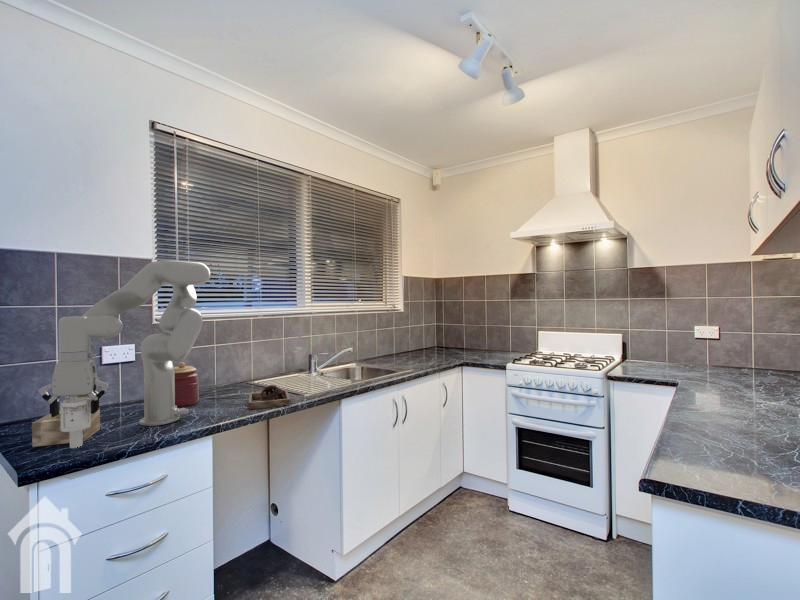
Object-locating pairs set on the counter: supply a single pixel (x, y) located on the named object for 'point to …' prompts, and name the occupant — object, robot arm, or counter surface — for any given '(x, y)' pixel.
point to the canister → (186, 385)
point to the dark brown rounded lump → (271, 393)
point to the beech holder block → (59, 430)
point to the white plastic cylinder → (75, 419)
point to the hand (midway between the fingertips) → (75, 414)
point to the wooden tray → (268, 403)
